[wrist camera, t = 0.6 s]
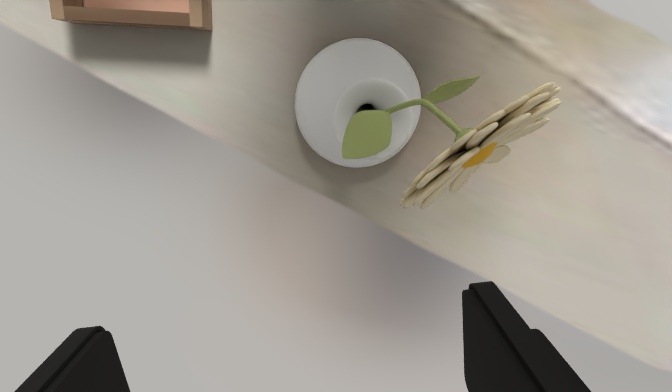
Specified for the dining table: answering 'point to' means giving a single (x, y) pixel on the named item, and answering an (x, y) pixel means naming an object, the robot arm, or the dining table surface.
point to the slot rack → (136, 13)
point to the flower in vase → (401, 115)
